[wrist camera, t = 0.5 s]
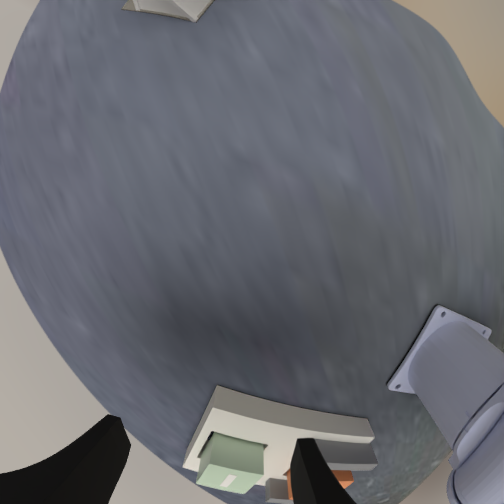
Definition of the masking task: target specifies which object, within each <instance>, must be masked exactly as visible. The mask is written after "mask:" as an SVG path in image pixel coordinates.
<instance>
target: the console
mask: <svg viewBox="0 0 504 504" xmlns="http://www.w3.org/2000/svg"><path fill="white" fill-rule="evenodd" d="M211 431H214V432H217V433H221V434H224V435H228V436H232V437H236V438H240V439H244V440H248V441H253V442H257V443H262V444H263V452H264V475H263V476H262V477H261V478H260V479H259V480H258V481H257V482H256V483H255V484H256V485H263V486H265V488H266V502H272V503H283V504H294V502H293V500H290V499H289V496H288V484H287V471H288V470H289V469H290V463H291V459H292V456H293V452H294V449H295V445H296V441H297V438H314V439H315V441H316V443H317V446H318V448H319V450H320V452H321V454H322V455H323V457H324V459H325V461H326V463H327V464H328V466H329V468H330V469H331V470H372V469H373V468H374V467H376V466H377V465H378V461H377V459H376V456H375V454H374V451H373V448H372V446H371V444H369V443H370V442H371V441H372V440H373V439H374V438H375V436H374V434H373V431H372V429H371V427H370V424H369V422H368V419H366V418H358V417H350V416H343V415H337V414H331V413H325V412H319V411H314V410H309V409H304V408H299V407H295V406H290V405H286V404H281V403H277V402H273V401H269V400H265V399H262V398H258V397H254V396H251V395H247V394H244V393H240V392H237V391H234V390H231V389H227V388H224V387H221V386H218V385H217V386H216V389H215V391H214V393H213V395H212V397H211V399H210V401H209V404H208V406H207V408H206V410H205V412H204V414H203V416H202V419H201V421H200V423H199V425H198V427H197V429H196V431H195V433H194V435H193V437H192V440H191V442H190V444H189V446H188V448H187V451H186V455H185V459H184V463H183V468H187V469H190V470H193V471H197V472H198V470H199V464H200V459H201V454H202V453H203V451H204V449H205V447H206V446H207V444H208V442H209V440H207V438H208V436H209V434H210V433H211Z"/></svg>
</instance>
